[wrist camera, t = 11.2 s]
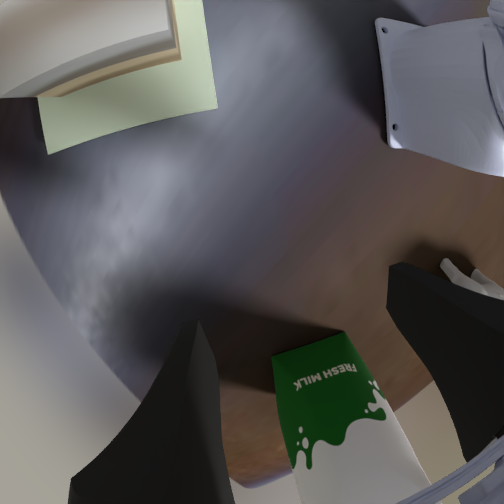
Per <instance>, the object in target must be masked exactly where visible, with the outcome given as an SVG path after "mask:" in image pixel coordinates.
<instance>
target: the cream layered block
mask: <svg viewBox="0 0 504 504" xmlns="http://www.w3.org/2000/svg"><path fill="white" fill-rule="evenodd" d="M179 60H182V57H181V50H180V43H179V36H178V28H177V21H176V13H175V5H174V0H7V1H5V2H4V3H2V4H1V5H0V98H13V97H62V96H65V95H67V94H70V93H72V92H75V91H77V90H80V89H82V88H85V87H88V86H90V85H93V84H96V83H99V82H102V81H105V80H108V79H111V78H114V77H117V76H120V75H124V74H127V73H130V72H134V71H137V70H141V69H145V68H149V67H153V66H157V65H161V64H165V63H170V62H175V61H179Z"/></svg>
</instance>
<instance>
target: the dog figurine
mask: <svg viewBox="0 0 504 504" xmlns="http://www.w3.org/2000/svg"><path fill="white" fill-rule="evenodd" d="M440 267H441V269H442V270H443V271H444V272H445V274H446V275H447V276H448V277H449V279H450V280H451V282H452V283H454V284H457V285H459V286H462V287H464V288H467V289H469V290H472V291H475V292H478V293H481V294H484V295H487V296H490V297H494V298H497V299H501V300H504V289H503V288H502V287H500V286H499V285H497V284H496V283H495V282H493V281H492V280H490V279H489V278H487V277H486V276H484V275H483V274H482V273H481V272H480V271H479V270H478V269H475V270H474V271H473V272H472V274H471V278H469V277H467V276H465V275H464V274H463V273H462V272H460V271H459V270H458V269H457V267H455V266H454V265H453V264H452V262H451V261H450V260H449V259H448V258H445V259H443V260H442V262H441V264H440Z"/></svg>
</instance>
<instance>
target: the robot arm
mask: <svg viewBox="0 0 504 504" xmlns="http://www.w3.org/2000/svg"><path fill="white" fill-rule="evenodd" d="M487 12H488V15H489V17H485V18H476V19H468V20H460V21H454V22H448V23H442V24H437V25H432V26H427V27H422V26H418V25H414V24H410V23H406V22H401V21H397V20H392V19H387V18H378V19H376V20H375V27H376V33H377V39H378V45H379V52H380V59H381V66H382V75H383V84H384V94H385V106H386V122H387V142H388V145H389V146H390V147H392V148H404V149H408V150H411V151H414V152H417V153H421V154H424V155H427V156H430V157H433V158H436V159H439V160H442V161H445V162H448V163H451V164H453V165H456V166H459V167H462V168H466V169H469V170H473V171H477V172H481V173H485V174H490V175H496V176H503V177H504V0H491V1H490V5H489V6H488V8H487ZM382 28H383V29H384V31H385V33H383V32H382ZM393 124H395V129H394V130H393V128H392V126H393ZM386 308H387V310H388V312H389V314H390V316H391V317H392V319H393V321H394V323H395V324H396V326H397V328H398V329H399V331H400V332H401V333H402V335H403V336H404V337H405V339H406V340H407V341H408V343H409V344H410V345H411V347H412V348H413V350H414V351H415V352H416V354H417V355H418V356H419V358H420V359H421V360H422V362H423V363H424V365H425V366H426V367H427V369H428V370H429V372H430V374H431V375H432V377H433V379H434V381H435V383H436V385H437V387H438V388H439V390H440V392H441V395H442V397H443V399H444V401H445V403H446V405H447V407H448V410H449V412H450V415H451V418H452V420H453V423H454V426H455V428H456V431H457V435H458V438H459V441H460V445H461V448H462V453H463V456H464V458H465V460H466V462H467V463H466V464H465V465H463V466H462V467H460V468H459V469H457V470H456V471H454V472H452V473H451V474H449V475H448V476H446V477H444V478H443V479H441V480H439V481H438V482H436V483H434V484H433V485H431V486H429V487H427V488H425V489H423V490H422V491H420V492H418V493H416V494H414V495H412V496H410V497H408V498H406V499H404V500H402V501H400V502H398V503H396V504H435V503H436V502H438V501H440V500H441V499H443V498H445V497H446V496H448V495H449V494H451V493H453V492H454V491H456V490H457V489H459V488H460V487H462V486H463V485H465V484H466V483H468V482H469V481H471V480H472V479H473V478H475V477H476V476H478V475H479V474H480V473H482V472H483V471H484V470H486V469H487V468H488V467H489V466H491V465H492V464H493V463H494V462H496V463H495V468H494V470H493V472H491V473H490V474H489V475H487V476H486V477H485V478H483V479H482V480H481V481H479V482H478V483H477V484H475V485H474V486H472V487H471V488H470V489H468V490H467V491H465V492H464V493H462V494H461V495H460V496H459V497H458V499H459V501H460V503H461V504H504V300H501V299H497V298H494V297H490V296H487V295H484V294H481V293H478V292H475V291H472V290H469V289H467V288H464V287H462V286H459V285H457V284H454V283H452V282H449V281H447V280H445V279H442V278H440V277H438V276H435V275H433V274H431V273H429V272H426V271H424V270H422V269H419V268H417V267H415V266H412V265H409V264H407V263H404V262H400V263H397V264H394V265H391V266H389V277H388V292H387V304H386ZM68 504H235V501H234V497H233V493H232V489H231V485H230V480H229V475H228V471H227V466H226V460H225V455H224V449H223V443H222V434H221V414H220V391H219V378H218V372H217V366H216V360H215V356H214V354H213V352H212V349H211V347H210V345H209V343H208V340H207V338H206V336H205V333H204V331H203V328H202V326H201V324H200V321H199V319H197V320H193V321H189V322H184V323H182V324H181V326H180V328H179V330H178V333H177V335H176V337H175V339H174V342H173V344H172V346H171V348H170V351H169V353H168V355H167V357H166V359H165V361H164V363H163V365H162V367H161V369H160V371H159V373H158V375H157V377H156V378H155V380H154V382H153V384H152V386H151V388H150V389H149V391H148V393H147V394H146V396H145V398H144V399H143V401H142V402H141V404H140V406H139V407H138V409H137V410H136V411H135V413H134V414H133V416H132V417H131V418H130V420H129V421H128V422H127V423H126V425H125V426H124V427H123V428H122V430H121V431H120V432H119V434H118V435H117V436H116V437H115V438H114V439H113V441H111V443H110V444H109V445H108V446H107V447H106V448H105V449H104V450H103V451H102V452H101V453H100V454H99V455H98V456H97V457H96V458H95V459H94V460H93V461H91V462H90V463H89V464H88V465H87V466H86V467H85V468H83V469H82V470H81V471H80V472H78V473H77V474H76V475H75V476H74V477H72V478H71V482H70V490H69V498H68Z"/></svg>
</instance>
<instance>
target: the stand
mask: <svg viewBox="0 0 504 504" xmlns="http://www.w3.org/2000/svg"><path fill="white" fill-rule="evenodd" d="M174 5H175V13H176V21H177V28H178V36H179V43H180V50H181V57H182V60H179V61H175V62H170V63H165V64H161V65H157V66H153V67H149V68H145V69H141V70H137V71H134V72H130V73H127V74H124V75H120V76H117V77H114V78H111V79H108V80H105V81H102V82H99V83H96V84H93V85H90V86H88V87H85V88H82V89H80V90H77V91H75V92H72V93H70V94H67V95H65V96H62V97H38V103H39V110H40V116H41V122H42V128H43V133H44V138H45V143H46V148H47V152H48V155H49V154H52V153H55V152H58V151H60V150H63V149H66V148H69V147H71V146H74V145H77V144H80V143H83V142H86V141H88V140H91V139H95V138H98V137H101V136H104V135H107V134H110V133H114V132H117V131H120V130H124V129H128V128H131V127H135V126H139V125H142V124H146V123H150V122H154V121H158V120H163V119H167V118H172V117H176V116H181V115H186V114H191V113H196V112H201V111H207V110H213V109H217V108H218V106H217V99H216V93H215V86H214V79H213V73H212V66H211V59H210V53H209V46H208V39H207V32H206V25H205V18H204V11H203V4H202V0H174Z"/></svg>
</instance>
